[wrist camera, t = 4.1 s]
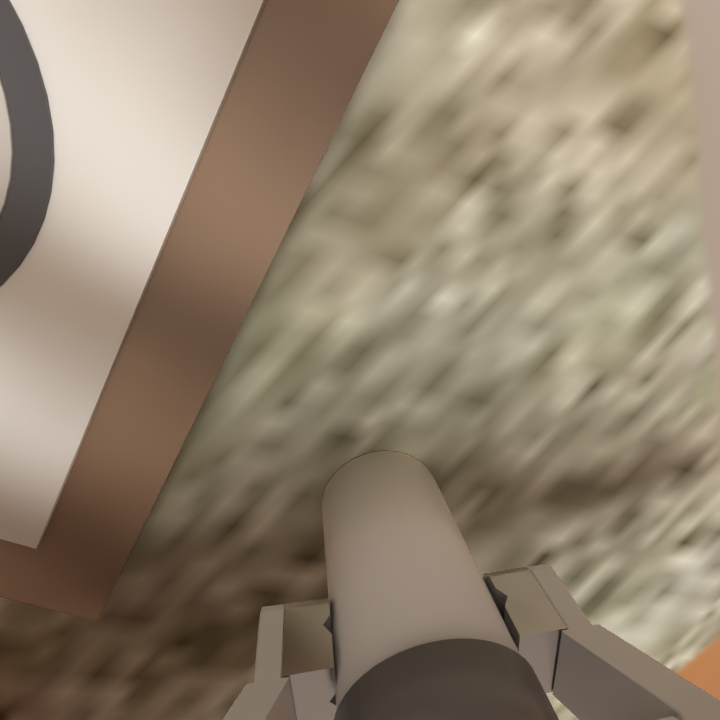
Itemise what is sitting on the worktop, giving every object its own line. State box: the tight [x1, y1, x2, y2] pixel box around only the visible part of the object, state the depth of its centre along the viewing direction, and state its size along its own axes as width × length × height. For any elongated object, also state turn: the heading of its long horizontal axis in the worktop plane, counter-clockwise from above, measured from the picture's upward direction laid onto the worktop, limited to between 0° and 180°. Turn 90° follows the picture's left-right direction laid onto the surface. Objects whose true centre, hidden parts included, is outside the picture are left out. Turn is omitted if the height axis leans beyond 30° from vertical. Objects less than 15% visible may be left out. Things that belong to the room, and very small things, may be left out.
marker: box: [322, 451, 559, 720], centre depth 10 cm, size 4×4×8 cm
